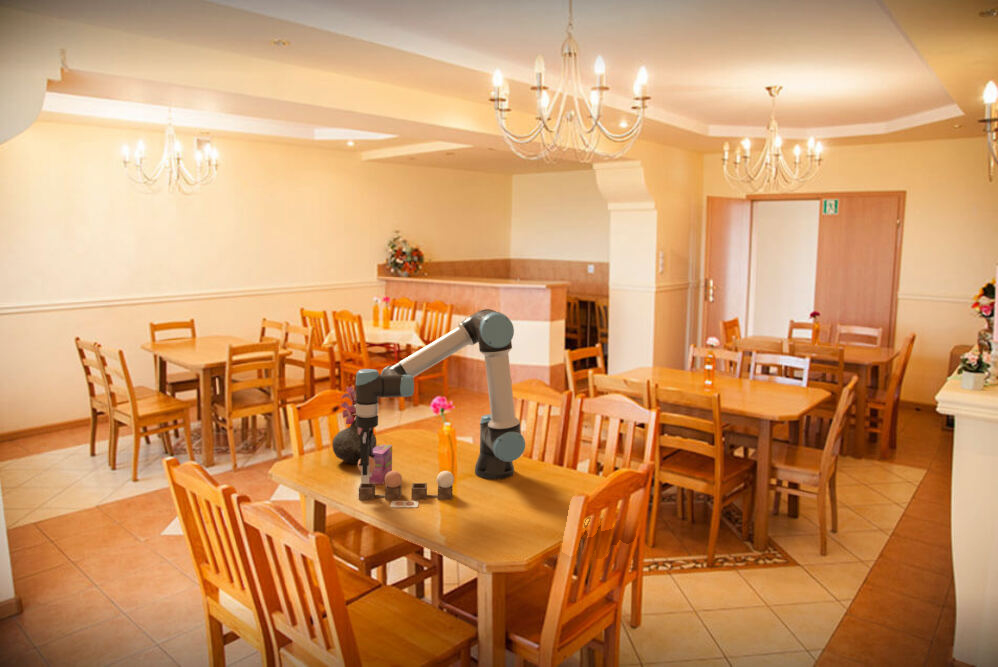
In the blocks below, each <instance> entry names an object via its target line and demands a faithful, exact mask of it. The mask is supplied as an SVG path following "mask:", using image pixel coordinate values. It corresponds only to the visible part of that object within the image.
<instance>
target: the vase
mask: <svg viewBox="0 0 998 667" xmlns="http://www.w3.org/2000/svg"><path fill="white" fill-rule="evenodd" d="M345 389H346V392H347V393H344V394H343V395H341V398H340V399H342V400H343V398H348V399H349V400H350V402H351V405H349V403H348V402H346V401H343V403H341V404H340V407H341V408H344V409H343V410H342V418H343V419H345V418H346V420H345V425H350V426H349V427H346V428H344V429H342V430H340V431H339V432H337V434H336V435H335V436H334V438H332V439H333V440H332V449H333V450H332V452H333V453H334V455H335V456H336V458H338V459H339V460H342V461H343V462H346V464H349V465H358V461H359V460H360V454H361V441H360V438H361V437H360V432H361V431H362V428H359V427H357V426H356V415H357V414H356V408H355V407H354V405H356V389H355V390H354V387H353V386H348V387H345ZM376 446H377V437H376V435H375V433H373V448H374V447H376Z"/></svg>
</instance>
